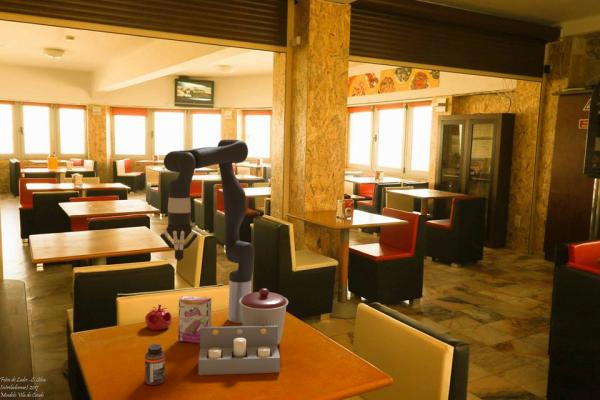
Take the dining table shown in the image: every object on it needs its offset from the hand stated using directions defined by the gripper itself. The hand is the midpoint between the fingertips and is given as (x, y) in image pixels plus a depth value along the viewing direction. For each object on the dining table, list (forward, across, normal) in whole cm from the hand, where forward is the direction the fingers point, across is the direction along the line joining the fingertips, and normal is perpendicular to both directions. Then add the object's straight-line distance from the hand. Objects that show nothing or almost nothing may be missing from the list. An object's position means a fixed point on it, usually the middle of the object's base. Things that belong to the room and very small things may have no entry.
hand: (179, 260), depth 167 cm
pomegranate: (+33, +10, -23) cm, 42 cm away
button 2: (+32, -29, +14) cm, 45 cm away
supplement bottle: (+33, +5, +21) cm, 40 cm away
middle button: (+28, -21, +14) cm, 38 cm away
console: (+33, -21, +13) cm, 41 cm away
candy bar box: (+33, -5, -9) cm, 35 cm away
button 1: (+32, -13, +14) cm, 37 cm away
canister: (+33, -30, -5) cm, 45 cm away
